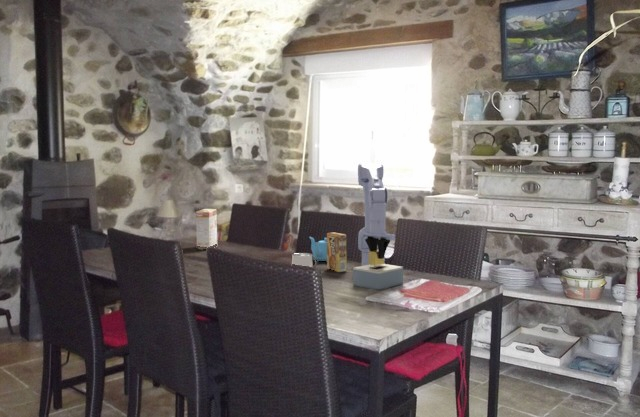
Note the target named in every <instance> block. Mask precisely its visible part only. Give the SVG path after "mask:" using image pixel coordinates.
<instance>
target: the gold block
mask: <svg viewBox="0 0 640 417" xmlns="http://www.w3.org/2000/svg"><path fill="white" fill-rule="evenodd" d="M382 264H384V258H383V259H379V255H378V250H373V251H369V265H373V266H377V265H382Z"/></svg>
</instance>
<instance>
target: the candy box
mask: <svg viewBox="0 0 640 417" xmlns="http://www.w3.org/2000/svg"><path fill="white" fill-rule="evenodd" d="M326 238H327V262H326V263H327V265H326V266H327V268H328V269H327V268H326V269H327V270H329V269H331V270H330V271H333V270H334V272H337V273H342V272H347V271H348V270H347V267H348V266H347V234H345V233H339V232H334V231H333V232H327V233H326Z"/></svg>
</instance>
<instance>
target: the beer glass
mask: <svg viewBox="0 0 640 417" xmlns="http://www.w3.org/2000/svg"><path fill="white" fill-rule="evenodd" d="M312 254H313V253H309V252H298V253H292V254H291V257H292V258H291V265H292V264H295V265H302V266H309V267H313V262H312Z"/></svg>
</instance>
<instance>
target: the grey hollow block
mask: <svg viewBox="0 0 640 417" xmlns="http://www.w3.org/2000/svg"><path fill="white" fill-rule="evenodd" d="M352 272H353V273H352V274H353V275H352V278H353V281H352V283H353V284H352V285H353V286H356V287H360V288H366V289H371V290H376V291H381V290H385V289H389V288H393V287H397V286H402V285H403V284H404V266H399V265H394V264H388V263H385V264H382V265H377V266H373V265H364V266H362V265H361V266H356V267H353V269H352Z"/></svg>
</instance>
